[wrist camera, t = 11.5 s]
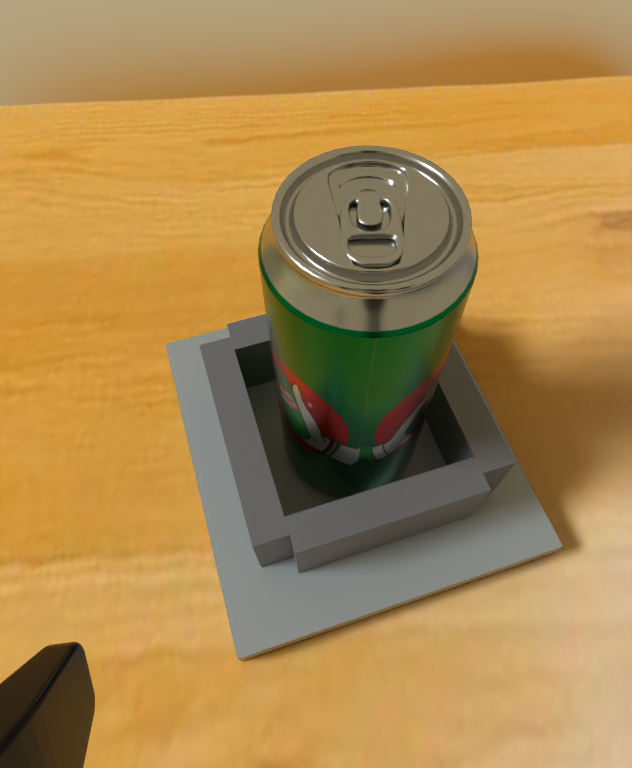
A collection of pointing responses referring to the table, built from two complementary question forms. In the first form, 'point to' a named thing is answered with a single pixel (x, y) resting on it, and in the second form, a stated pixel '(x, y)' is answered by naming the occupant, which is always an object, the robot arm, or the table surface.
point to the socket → (343, 500)
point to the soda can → (362, 307)
